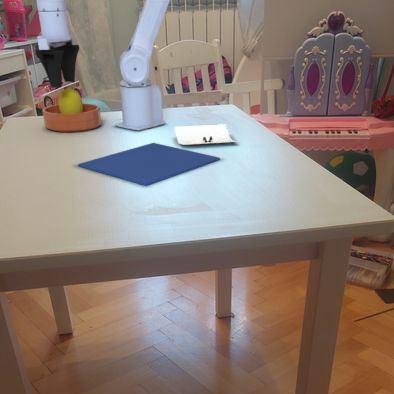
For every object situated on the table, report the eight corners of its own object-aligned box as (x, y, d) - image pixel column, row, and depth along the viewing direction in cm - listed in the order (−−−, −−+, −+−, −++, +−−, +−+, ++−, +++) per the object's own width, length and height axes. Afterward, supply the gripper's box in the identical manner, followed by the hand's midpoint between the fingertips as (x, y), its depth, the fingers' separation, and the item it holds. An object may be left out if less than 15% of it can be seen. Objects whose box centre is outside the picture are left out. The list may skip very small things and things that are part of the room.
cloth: (153, 144, 104) (153, 142, 104) (219, 159, 95) (219, 157, 95) (78, 166, 92) (78, 164, 92) (145, 186, 83) (145, 183, 82)
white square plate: (183, 150, 100) (182, 140, 99) (174, 136, 110) (174, 126, 109) (240, 147, 102) (240, 137, 101) (226, 133, 112) (226, 124, 111)
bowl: (78, 118, 126) (76, 101, 124) (112, 125, 119) (110, 107, 117) (34, 127, 118) (31, 109, 116) (68, 136, 111) (65, 116, 109)
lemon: (87, 121, 120) (83, 85, 116) (81, 127, 116) (76, 89, 111) (65, 121, 121) (60, 85, 116) (58, 126, 116) (52, 88, 112)
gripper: (48, 9, 109) (59, 79, 117) (18, 12, 97) (32, 89, 106) (78, 9, 108) (87, 79, 116) (52, 12, 96) (63, 89, 105)
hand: (63, 84), depth 111 cm, fingers open, 7 cm apart
